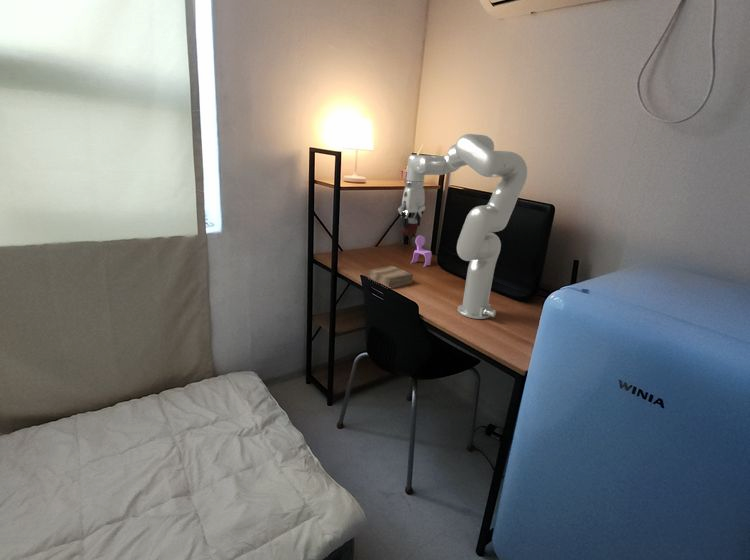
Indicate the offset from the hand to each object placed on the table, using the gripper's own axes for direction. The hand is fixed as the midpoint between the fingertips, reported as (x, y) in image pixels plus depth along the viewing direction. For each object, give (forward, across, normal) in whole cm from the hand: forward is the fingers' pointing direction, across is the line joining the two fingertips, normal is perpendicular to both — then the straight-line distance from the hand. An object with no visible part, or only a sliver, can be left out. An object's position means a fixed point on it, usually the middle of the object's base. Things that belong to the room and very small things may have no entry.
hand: (410, 225), depth 180 cm
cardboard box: (+26, -6, +4) cm, 27 cm away
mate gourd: (+5, 0, 0) cm, 5 cm away
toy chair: (+26, +28, +16) cm, 41 cm away
